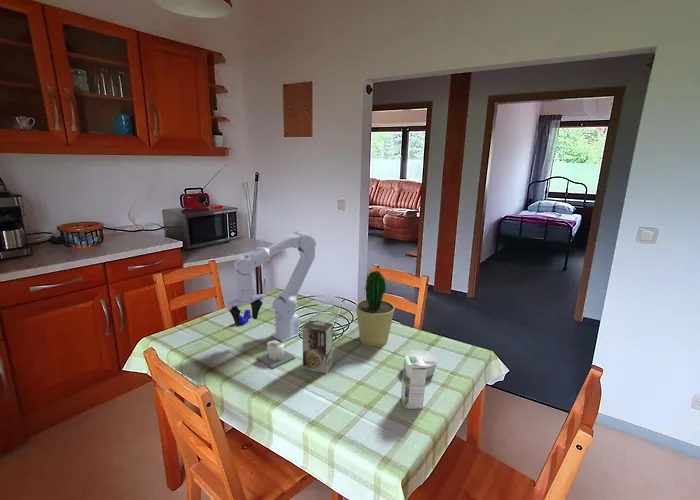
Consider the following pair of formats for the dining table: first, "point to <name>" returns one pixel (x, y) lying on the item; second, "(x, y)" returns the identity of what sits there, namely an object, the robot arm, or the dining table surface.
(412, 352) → the ramekin
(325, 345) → the brown food box
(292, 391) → the dining table surface
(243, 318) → the cable holder
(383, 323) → the potted cactus
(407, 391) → the syrup box
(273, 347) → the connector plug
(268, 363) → the slate coaster
